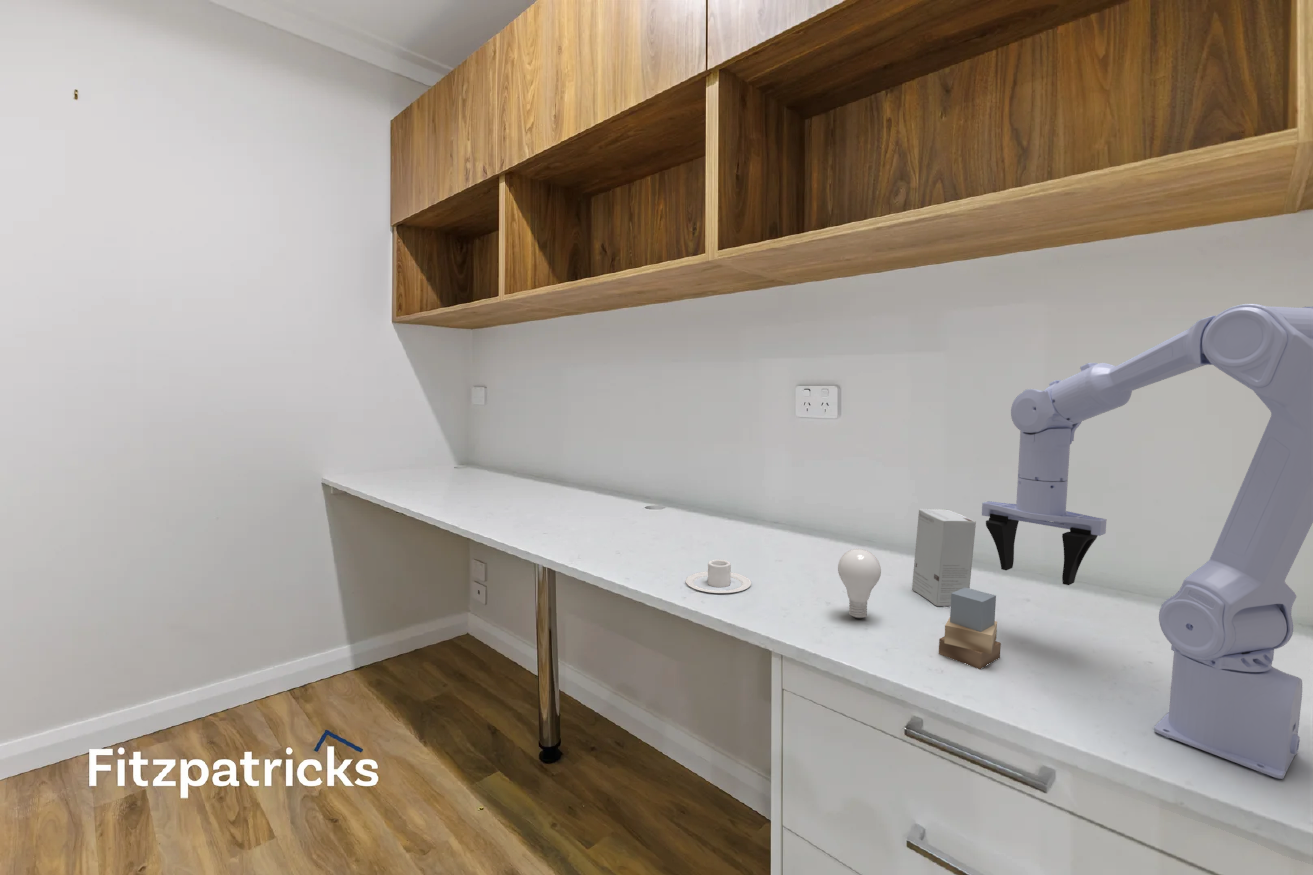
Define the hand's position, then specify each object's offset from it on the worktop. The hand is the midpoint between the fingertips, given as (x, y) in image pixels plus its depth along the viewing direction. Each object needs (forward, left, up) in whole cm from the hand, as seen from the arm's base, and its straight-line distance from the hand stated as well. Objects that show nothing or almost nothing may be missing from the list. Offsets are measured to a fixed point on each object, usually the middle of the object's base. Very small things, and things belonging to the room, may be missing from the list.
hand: (1036, 575), depth 82 cm
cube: (+4, +10, -6) cm, 12 cm away
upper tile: (+4, +10, -8) cm, 13 cm away
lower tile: (+4, +10, -11) cm, 15 cm away
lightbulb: (+21, +11, -10) cm, 26 cm away
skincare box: (+18, -8, -10) cm, 22 cm away
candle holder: (+46, +18, -11) cm, 50 cm away
